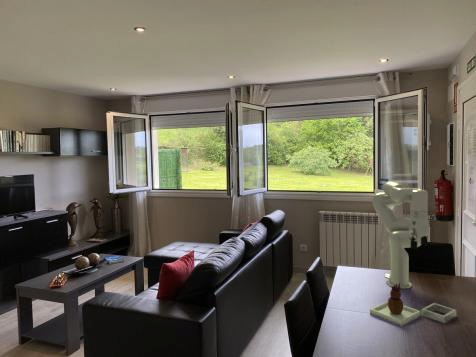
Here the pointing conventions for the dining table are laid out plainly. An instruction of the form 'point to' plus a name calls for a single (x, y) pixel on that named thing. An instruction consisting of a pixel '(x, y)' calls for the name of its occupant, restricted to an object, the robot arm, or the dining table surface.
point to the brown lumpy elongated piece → (395, 300)
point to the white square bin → (441, 318)
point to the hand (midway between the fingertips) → (419, 246)
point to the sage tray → (401, 319)
